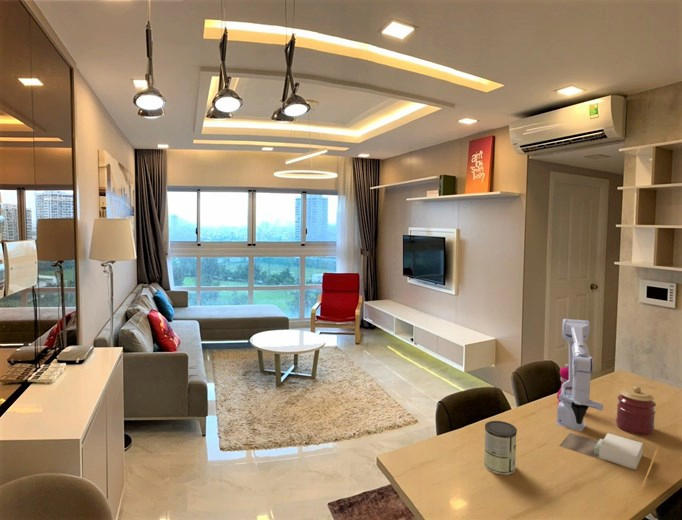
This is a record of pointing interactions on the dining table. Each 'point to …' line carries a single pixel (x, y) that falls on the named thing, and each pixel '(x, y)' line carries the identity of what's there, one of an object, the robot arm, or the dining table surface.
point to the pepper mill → (563, 378)
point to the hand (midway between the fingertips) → (579, 423)
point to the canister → (636, 411)
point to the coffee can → (500, 447)
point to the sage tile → (597, 447)
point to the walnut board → (583, 446)
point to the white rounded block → (621, 450)
